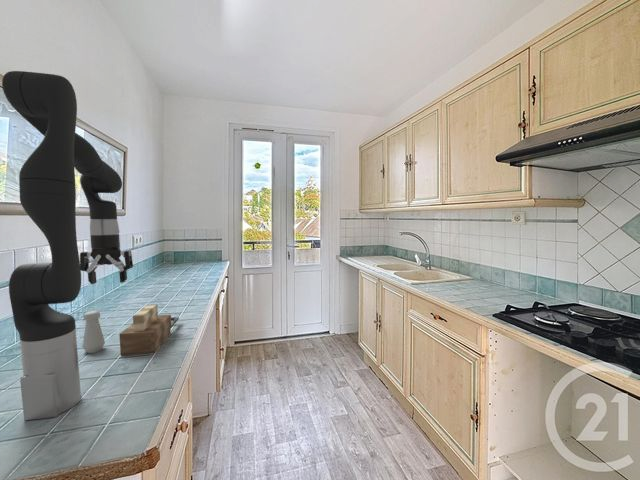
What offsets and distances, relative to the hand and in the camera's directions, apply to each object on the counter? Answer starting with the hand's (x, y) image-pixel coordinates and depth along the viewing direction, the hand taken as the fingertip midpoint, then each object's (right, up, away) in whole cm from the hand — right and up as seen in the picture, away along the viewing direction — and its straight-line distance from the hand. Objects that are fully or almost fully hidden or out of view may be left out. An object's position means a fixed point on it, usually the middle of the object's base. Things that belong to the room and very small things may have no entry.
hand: (108, 282), depth 95 cm
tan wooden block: (+9, -19, +10) cm, 23 cm away
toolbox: (+10, -22, +5) cm, 24 cm away
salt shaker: (-5, -22, 0) cm, 23 cm away
